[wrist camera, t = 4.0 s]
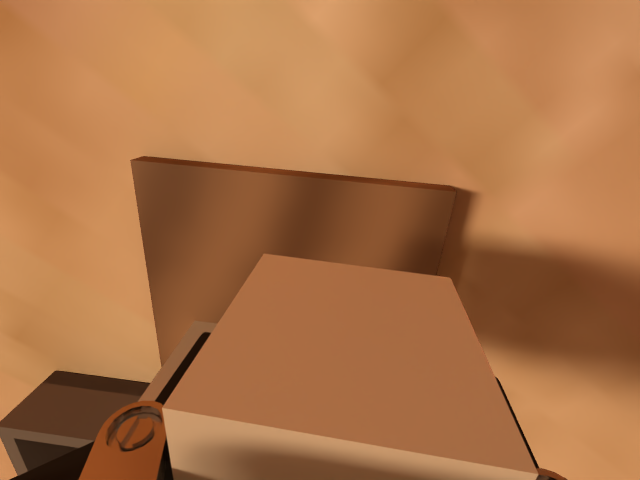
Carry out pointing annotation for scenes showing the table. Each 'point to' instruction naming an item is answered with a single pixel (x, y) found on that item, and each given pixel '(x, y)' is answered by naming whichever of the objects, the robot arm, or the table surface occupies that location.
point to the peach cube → (342, 384)
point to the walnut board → (270, 230)
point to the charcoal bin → (63, 416)
